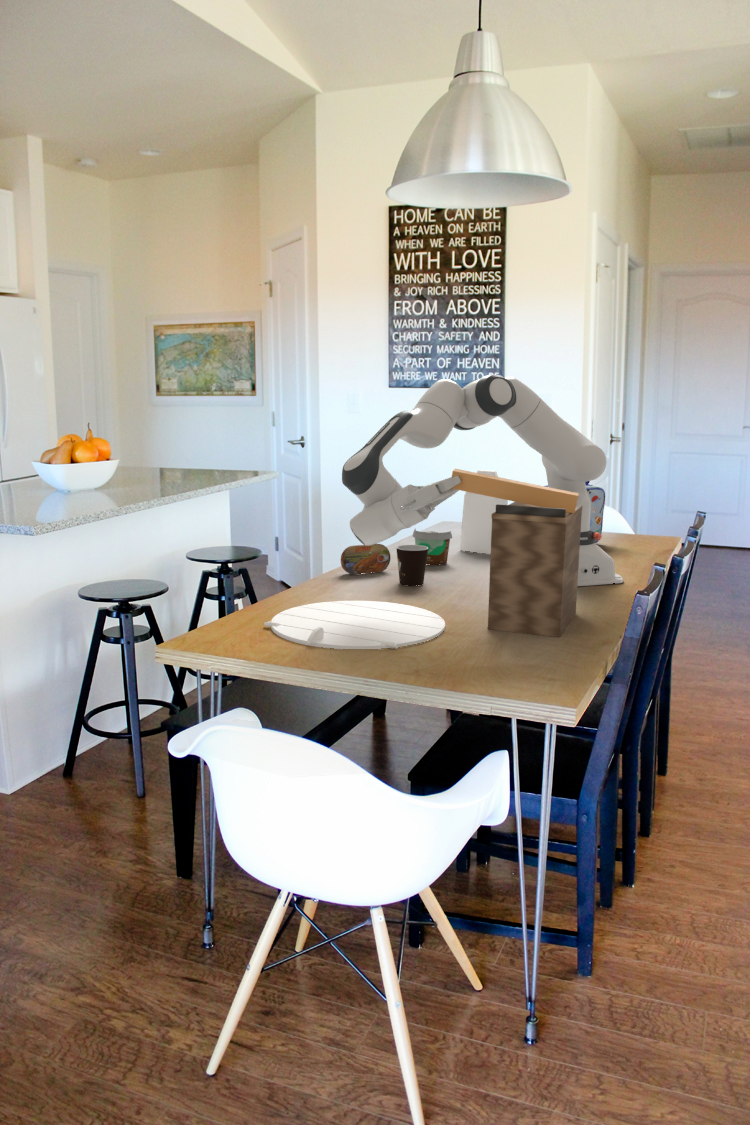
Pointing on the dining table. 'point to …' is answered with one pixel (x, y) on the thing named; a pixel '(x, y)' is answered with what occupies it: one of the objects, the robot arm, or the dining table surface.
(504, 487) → the orange block
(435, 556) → the food container
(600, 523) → the lunch box
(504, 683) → the dining table surface
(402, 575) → the coffee mug
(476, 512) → the milk
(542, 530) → the walnut stand
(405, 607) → the lazy susan
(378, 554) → the tin
